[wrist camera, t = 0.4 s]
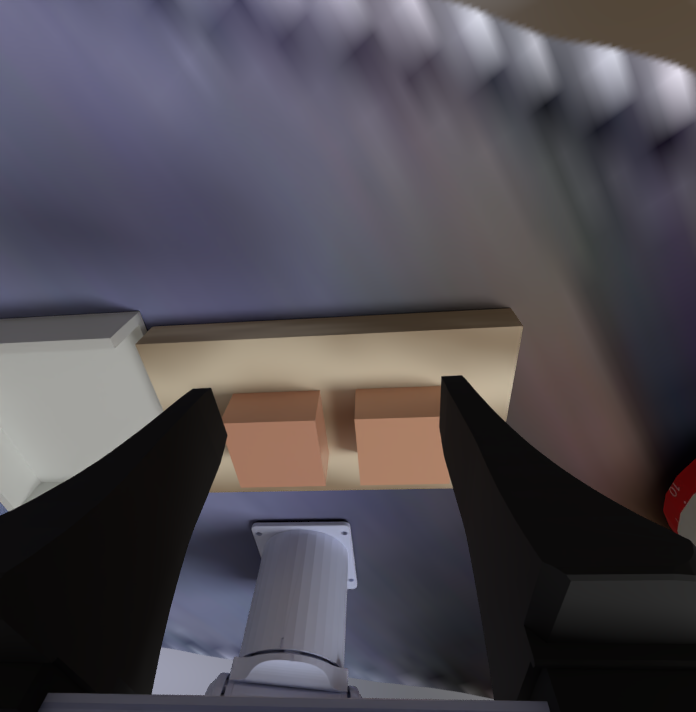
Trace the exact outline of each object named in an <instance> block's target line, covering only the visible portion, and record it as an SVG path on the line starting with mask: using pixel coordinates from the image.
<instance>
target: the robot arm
mask: <svg viewBox="0 0 696 712" xmlns="http://www.w3.org/2000/svg"><path fill="white" fill-rule="evenodd" d="M439 429H440V436H441V442H442V448H443V454H444V458H445V462H446V466H447V469H448V473H449V476H450V480H451V483H452V486H453V490H454V493H455V497H456V500H457V503H458V507H459V510H460V514H461V517H462V521H463V524H464V528H465V532H466V536H467V541H468V547H469V552H470V557H471V563H472V568H473V573H474V579H475V585H476V590H477V596H478V602H479V607H480V613H481V619H482V625H483V631H484V637H485V644H486V650H487V656H488V663H489V669H490V676H491V682H492V689H493V695H494V700H439V699H438V700H437V699H379V698H362V697H361V695H360V694H359V691H358V689H357V687H355V686H348V669H347V668H344V652H345V628H346V604H347V589H354V588H356V587H357V577H356V569H355V561H354V552H353V544H352V536H351V528H350V524H349V523H347V522H263V523H254V524H253V525H252V528H251V529H252V533H253V536H254V539H255V541H256V544H257V547H258V550H259V553H260V556H261V564H260V568H259V572H258V577H257V581H256V585H255V589H254V594H253V598H252V602H251V607H250V611H249V615H248V620H247V624H246V628H245V633H244V637H243V641H242V646H241V650H240V654H239V657H234V660H233V664H232V668H231V672H230V673H221V674H220V675H219V676H218V677H217V679H215V680H214V681H213V682H212V683H211V684H210V685H209V687H208V689H207V691H206V693H205V695H203V696H202V695H151V694H152V689H153V684H154V679H155V674H156V669H157V665H158V659H159V655H160V650H161V645H162V641H163V637H164V633H165V629H166V624H167V620H168V616H169V612H170V608H171V604H172V600H173V596H174V593H175V589H176V585H177V581H178V578H179V574H180V571H181V567H182V564H183V561H184V557H185V554H186V550H187V547H188V544H189V541H190V538H191V535H192V533H193V530H194V527H195V525H196V522H197V520H198V518H199V515H200V513H201V510H202V508H203V505H204V503H205V501H206V498H207V496H208V493H209V491H210V489H211V486H212V484H213V481H214V479H215V476H216V474H217V471H218V469H219V466H220V464H221V460H222V456H223V453H224V449H225V444H226V440H227V436H228V435H227V432H226V429H225V426H224V423H223V420H222V418H221V415H220V412H219V409H218V406H217V403H216V400H215V397H214V394H213V391H212V389H211V388H196V389H192V390H190V391H189V392H187V393H186V394H185V395H183V396H182V397H181V398H179V399H178V400H177V401H176V402H174V403H173V404H172V405H171V406H169V407H168V408H167V409H166V410H165V411H163V412H162V413H161V414H160V415H158V416H157V417H156V418H155V419H153V420H152V421H151V422H150V423H148V424H147V425H146V426H145V427H143V428H142V429H141V430H139V431H138V432H137V433H135V434H134V435H133V436H131V437H130V438H129V439H127V440H126V441H125V442H123V443H122V444H121V445H119V446H118V447H117V448H115V449H114V450H113V451H111V452H110V453H108V454H107V455H106V456H104V457H103V458H101V459H100V460H98V461H97V462H95V463H94V464H92V465H91V466H89V467H87V468H86V469H84V470H83V471H81V472H80V473H78V474H76V475H75V476H73V477H71V478H70V479H68V480H66V481H65V482H63V483H61V484H59V485H57V486H56V487H54V488H52V489H50V490H49V491H47V492H45V493H43V494H41V495H40V496H38V497H36V498H34V499H33V500H31V501H29V502H27V503H25V504H23V505H21V506H19V507H17V508H15V509H13V510H11V511H9V512H7V513H5V514H3V515H1V516H0V712H696V546H695V545H694V544H693V543H692V541H691V540H689V539H687V538H685V537H683V536H681V535H679V534H677V533H675V532H673V531H671V530H669V529H666V528H664V527H662V526H660V525H658V524H656V523H654V522H652V521H650V520H648V519H646V518H644V517H642V516H640V515H638V514H636V513H634V512H632V511H631V510H629V509H627V508H625V507H624V506H622V505H620V504H618V503H616V502H615V501H613V500H611V499H609V498H607V497H606V496H604V495H602V494H601V493H599V492H597V491H596V490H594V489H592V488H591V487H589V486H588V485H586V484H585V483H583V482H581V481H580V480H578V479H577V478H575V477H574V476H572V475H571V474H569V473H568V472H566V471H565V470H563V469H562V468H560V467H559V466H558V465H556V464H555V463H553V462H552V461H551V460H550V459H548V458H547V457H546V456H544V455H543V454H542V453H540V452H539V451H538V450H536V449H535V448H534V447H533V446H532V445H530V444H529V443H528V442H527V441H526V440H525V439H523V438H522V437H521V436H520V435H519V434H518V433H517V432H516V431H514V430H513V429H512V428H511V427H510V426H509V425H508V424H507V423H506V422H505V421H504V420H503V419H502V418H501V417H500V416H499V415H498V414H497V413H496V412H495V411H494V410H493V409H492V408H491V407H490V406H489V405H488V404H487V403H486V401H485V400H484V399H483V398H482V397H481V396H480V395H479V394H478V393H477V391H476V390H475V389H474V388H473V387H472V386H471V384H470V383H469V382H468V381H467V380H466V379H465V378H464V377H463V376H462V375H457V376H441V395H440V419H439Z"/></svg>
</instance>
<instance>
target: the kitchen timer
mask: <svg viewBox="0 0 696 712" xmlns="http://www.w3.org/2000/svg"><path fill="white" fill-rule="evenodd" d="M663 512H664V515H665V517H666V519H667V522H668V524H669V526H670V527H671V529H672V530H673V532H675V533H677V534H679V535H681V536H683V537H685V538H687V539H689V540H691V541H692V543H693V544H694V545H695V546H696V459H695V460H694V461H693V462H691V463H690V464H689V465H688V466H687V467H686V468H685V469H684V470H683V471H682V472H681V473H680V474H679V475H677V477H676V478H675V480H674V482H673V483H672V485H671V486H670V488H669V490H668V491H667V493H666V495H665V502H664V508H663Z"/></svg>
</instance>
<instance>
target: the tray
mask: <svg viewBox="0 0 696 712" xmlns="http://www.w3.org/2000/svg"><path fill="white" fill-rule="evenodd" d="M146 333H147V329H146V327H145V324H144V322H143V319H142V317H141V314H140V312H139V311H135V312H117V313H99V314H80V315H62V316H44V317H25V318H7V319H0V502H1V503H2V504H3V506H4V507H5V508H6V509H7V510H8V511H11V510H13V509H15V508H17V507H19V506H21V505H23V504H25V503H27V502H29V501H31V500H33V499H34V498H36V497H38V496H40V495H41V494H43V493H45V492H47V491H49V490H50V489H52V488H54V487H56V486H57V485H59V484H61V483H63V482H65V481H66V480H68V479H70V478H71V477H73V476H75V475H76V474H78V473H80V472H81V471H83V470H84V469H86V468H87V467H89V466H91V465H92V464H94V463H95V462H97V461H98V460H100V459H101V458H103V457H104V456H106V455H107V454H108V453H110V452H111V451H113V450H114V449H115V448H117V447H118V446H119V445H121V444H122V443H123V442H125V441H126V440H127V439H129V438H130V437H131V436H133V435H134V434H135V433H137V432H138V431H139V430H141V429H142V428H143V427H145V426H146V425H147V424H148V423H150V422H151V421H152V420H153V419H155V418H156V417H157V416H158V415H160V414H161V413H162V412H163V408H162V406H161V404H160V401H159V399H158V397H157V394H156V392H155V390H154V387H153V385H152V383H151V380H150V378H149V376H148V373H147V371H146V369H145V366H144V364H143V362H142V359H141V357H140V355H139V352H138V350H137V348H136V345H135V344H136V343H137V342H138V341H139V340H140V339H141V338H142V337H143V336H144V335H145V334H146Z"/></svg>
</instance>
